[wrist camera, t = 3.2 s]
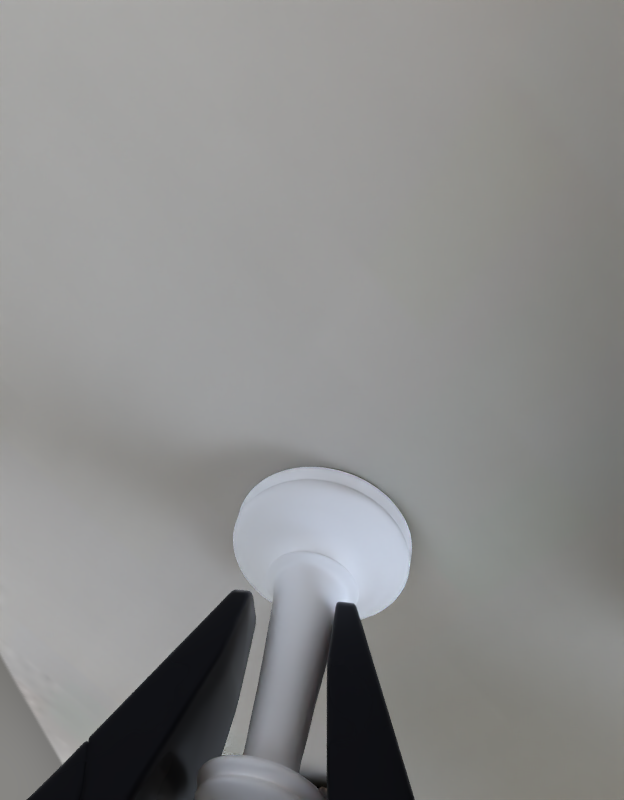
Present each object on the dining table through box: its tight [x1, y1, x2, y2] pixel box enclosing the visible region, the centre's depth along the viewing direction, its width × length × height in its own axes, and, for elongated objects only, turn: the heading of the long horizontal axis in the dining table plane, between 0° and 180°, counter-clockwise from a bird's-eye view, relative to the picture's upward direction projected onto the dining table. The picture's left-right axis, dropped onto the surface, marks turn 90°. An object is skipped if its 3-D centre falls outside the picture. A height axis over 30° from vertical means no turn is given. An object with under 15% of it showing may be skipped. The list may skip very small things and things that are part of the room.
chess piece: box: [194, 467, 412, 800], centre depth 6 cm, size 5×5×10 cm
